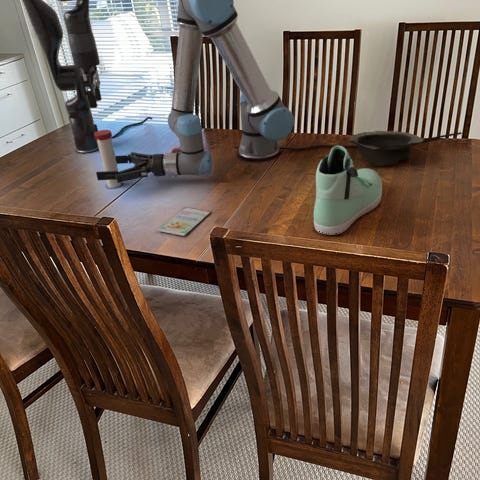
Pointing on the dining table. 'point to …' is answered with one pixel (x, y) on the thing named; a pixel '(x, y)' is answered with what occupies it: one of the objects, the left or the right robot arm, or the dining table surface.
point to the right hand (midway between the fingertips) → (103, 167)
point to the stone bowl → (384, 146)
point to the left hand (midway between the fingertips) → (96, 104)
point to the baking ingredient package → (183, 221)
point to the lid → (102, 134)
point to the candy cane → (176, 149)
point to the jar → (108, 159)
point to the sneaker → (343, 192)
